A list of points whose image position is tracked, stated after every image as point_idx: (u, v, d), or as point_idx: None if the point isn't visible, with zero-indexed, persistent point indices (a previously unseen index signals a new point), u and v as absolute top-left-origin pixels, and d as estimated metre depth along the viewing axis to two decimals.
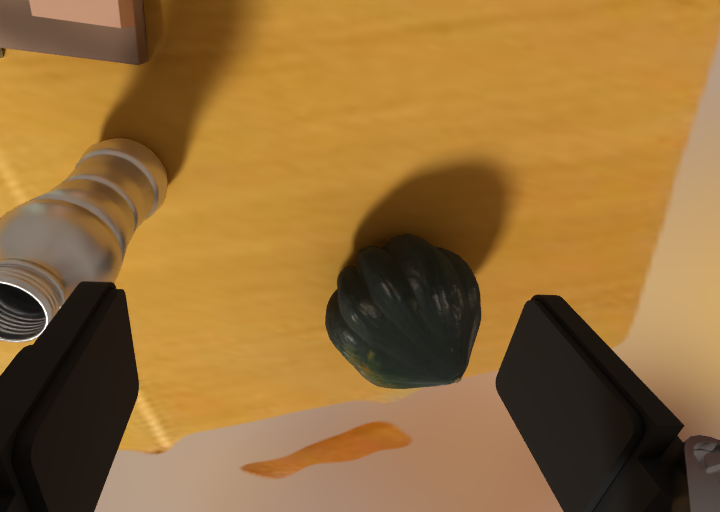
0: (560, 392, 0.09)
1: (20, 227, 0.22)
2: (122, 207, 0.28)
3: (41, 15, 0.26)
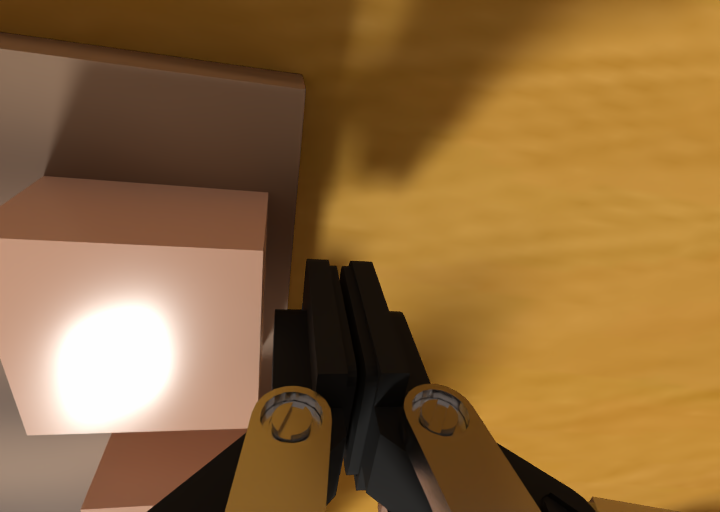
0: None
1: None
2: None
3: None
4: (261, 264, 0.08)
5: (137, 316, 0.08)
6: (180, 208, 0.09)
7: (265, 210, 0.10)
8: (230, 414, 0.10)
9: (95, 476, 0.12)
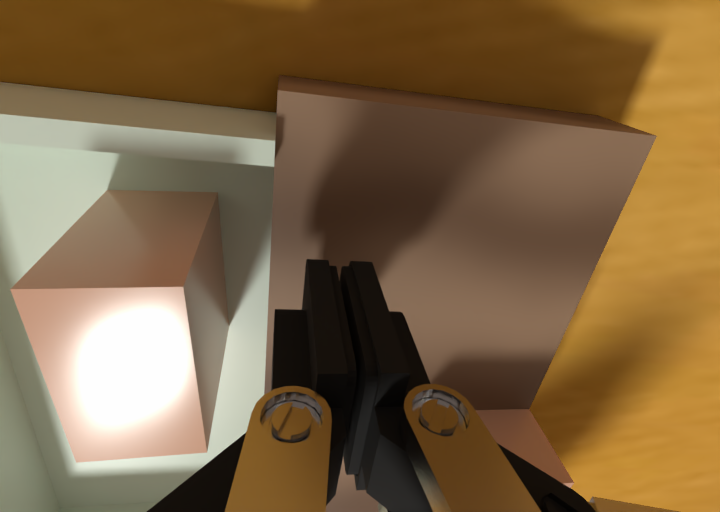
0: None
1: None
2: None
3: None
4: None
5: None
6: (139, 242, 0.10)
7: (120, 286, 0.08)
8: None
9: None
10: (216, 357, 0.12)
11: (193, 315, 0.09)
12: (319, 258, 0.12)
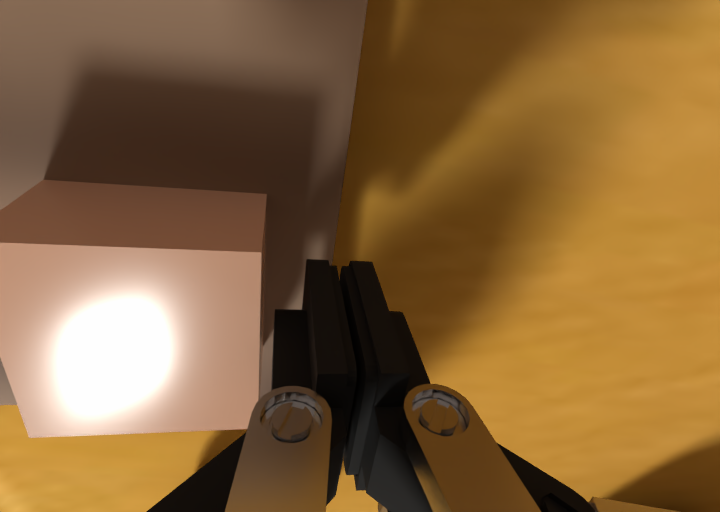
0: None
1: None
2: None
3: (54, 433, 0.10)
4: None
5: None
6: None
7: None
8: None
9: None
10: None
11: None
12: None
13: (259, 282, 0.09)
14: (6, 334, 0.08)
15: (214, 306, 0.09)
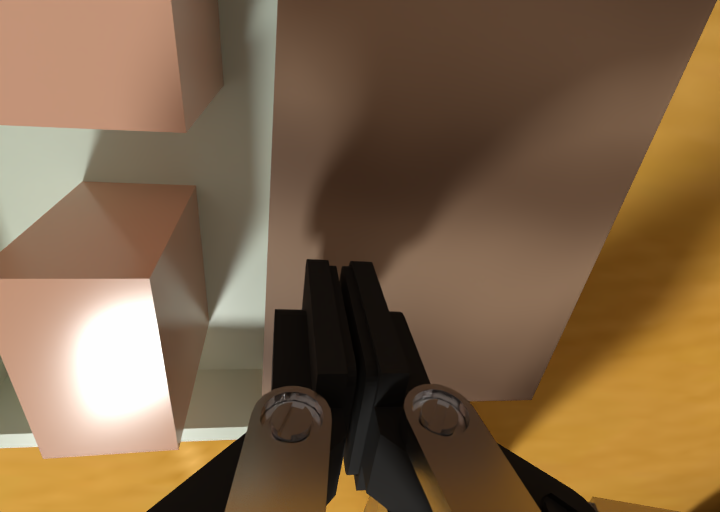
0: None
1: None
2: None
3: None
4: None
5: None
6: None
7: None
8: None
9: (117, 183, 0.12)
10: (203, 51, 0.08)
11: None
12: None
13: None
14: None
15: None
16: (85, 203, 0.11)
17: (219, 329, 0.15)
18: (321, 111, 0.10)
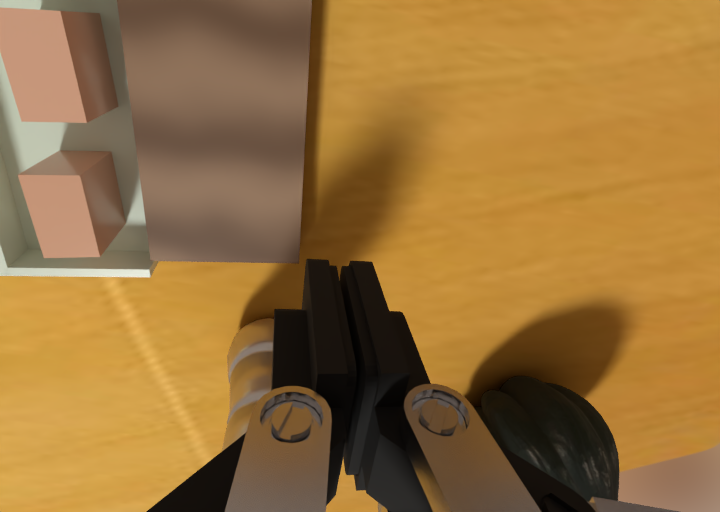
0: None
1: None
2: None
3: None
4: None
5: None
6: None
7: (33, 9, 0.20)
8: None
9: None
10: (98, 95, 0.24)
11: (70, 36, 0.21)
12: (148, 38, 0.23)
13: None
14: None
15: None
16: (60, 157, 0.26)
17: (131, 227, 0.30)
18: (151, 115, 0.25)
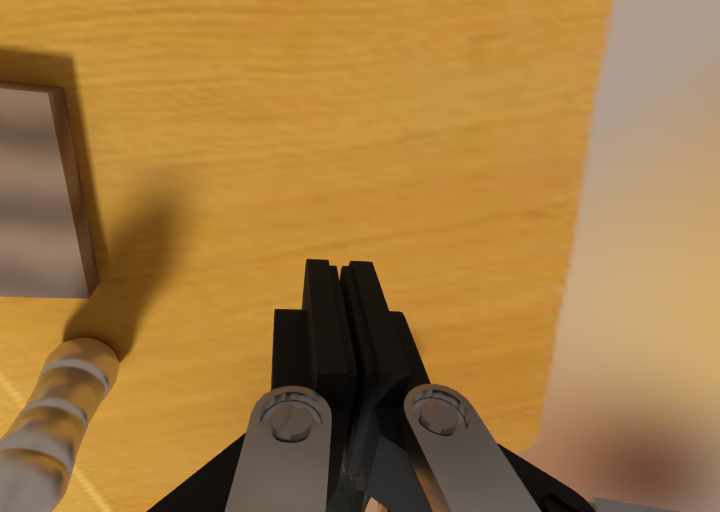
0: None
1: None
2: (72, 426, 0.37)
3: None
4: None
5: None
6: None
7: None
8: None
9: None
10: None
11: None
12: None
13: None
14: None
15: None
16: None
17: None
18: None
